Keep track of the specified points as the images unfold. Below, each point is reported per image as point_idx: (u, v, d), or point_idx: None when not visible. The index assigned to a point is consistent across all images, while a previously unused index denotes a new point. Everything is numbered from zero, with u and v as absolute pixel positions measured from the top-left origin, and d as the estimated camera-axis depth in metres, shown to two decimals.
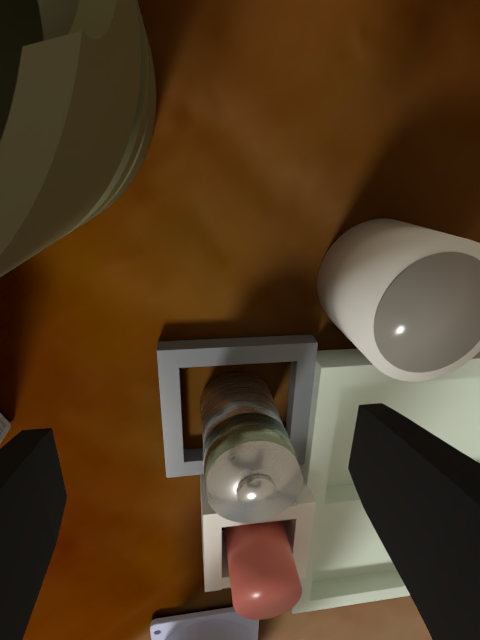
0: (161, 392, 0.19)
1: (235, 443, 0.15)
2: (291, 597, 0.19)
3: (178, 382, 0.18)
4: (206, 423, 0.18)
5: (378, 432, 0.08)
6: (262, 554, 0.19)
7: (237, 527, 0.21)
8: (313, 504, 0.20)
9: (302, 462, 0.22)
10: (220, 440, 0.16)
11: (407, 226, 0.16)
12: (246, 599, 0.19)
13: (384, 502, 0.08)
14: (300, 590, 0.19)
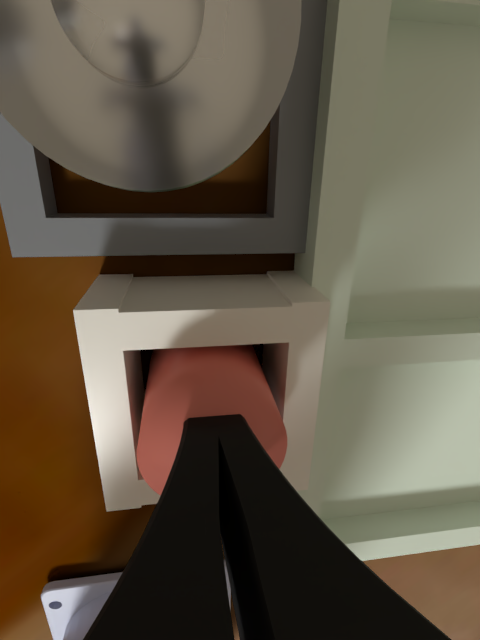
0: None
1: None
2: None
3: None
4: None
5: (218, 446, 0.08)
6: (203, 365, 0.09)
7: None
8: (325, 307, 0.09)
9: (301, 248, 0.11)
10: None
11: None
12: (168, 455, 0.09)
13: (224, 521, 0.08)
14: (283, 440, 0.09)
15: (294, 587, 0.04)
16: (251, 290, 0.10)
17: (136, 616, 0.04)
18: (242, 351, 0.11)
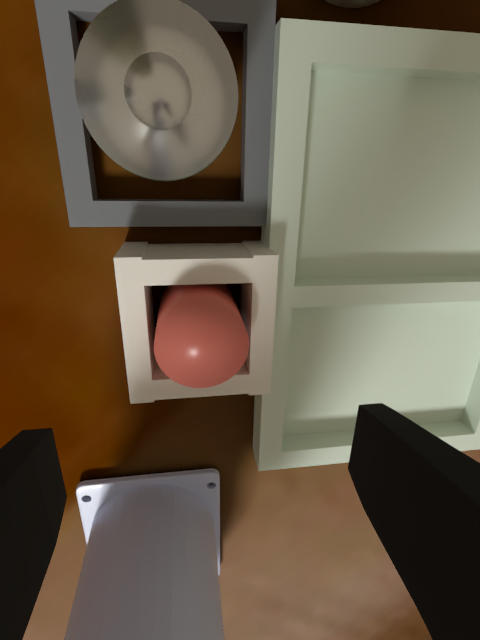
0: (45, 58, 0.13)
1: None
2: (235, 352, 0.14)
3: (70, 41, 0.13)
4: None
5: (378, 432, 0.08)
6: (195, 294, 0.14)
7: (171, 288, 0.16)
8: (275, 259, 0.14)
9: (263, 222, 0.16)
10: None
11: None
12: (173, 348, 0.14)
13: (384, 502, 0.08)
14: (246, 341, 0.14)
15: None
16: (228, 250, 0.15)
17: None
18: (222, 290, 0.16)
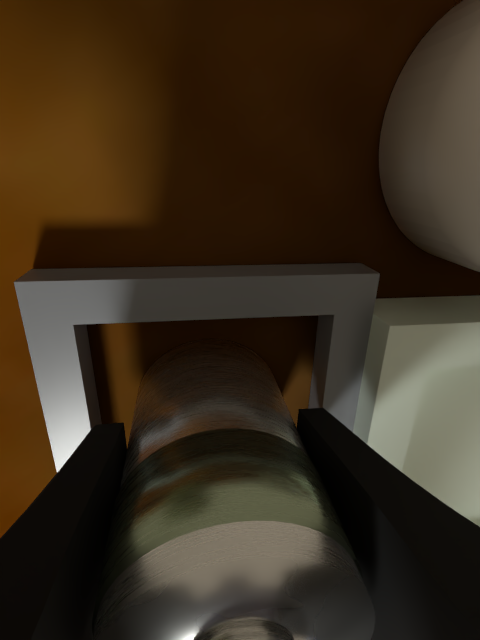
0: (39, 380, 0.09)
1: (176, 528, 0.05)
2: None
3: (76, 358, 0.08)
4: (129, 451, 0.08)
5: (312, 438, 0.08)
6: None
7: None
8: None
9: None
10: (140, 510, 0.06)
11: None
12: None
13: None
14: None
15: (452, 564, 0.05)
16: None
17: None
18: None
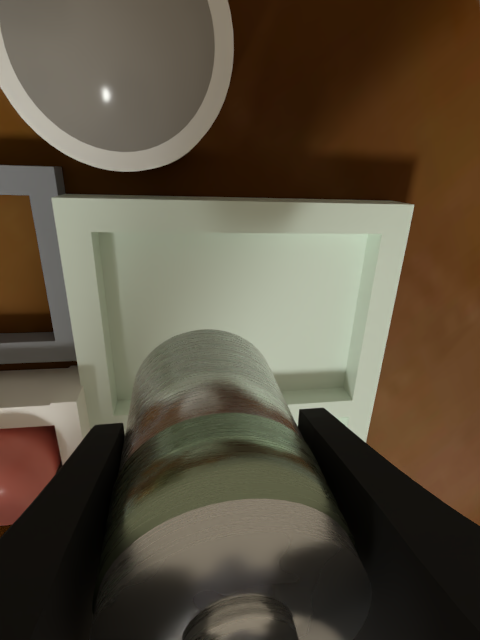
0: None
1: (170, 510, 0.05)
2: (32, 495, 0.15)
3: None
4: (125, 442, 0.08)
5: (312, 438, 0.08)
6: None
7: None
8: (73, 404, 0.15)
9: None
10: (135, 495, 0.06)
11: None
12: None
13: None
14: (41, 485, 0.15)
15: (453, 564, 0.05)
16: (41, 387, 0.16)
17: None
18: None
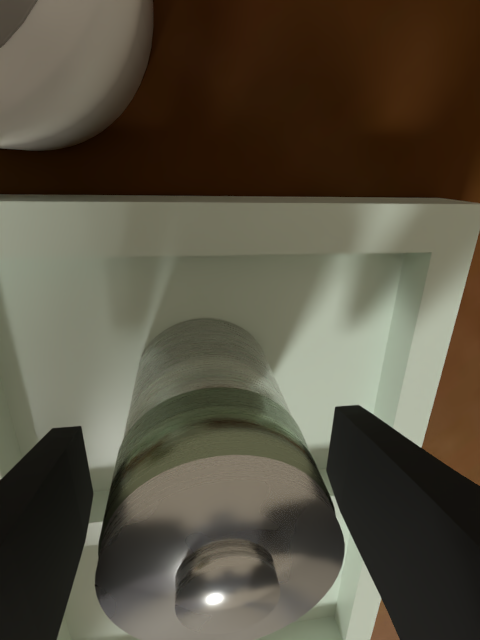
0: None
1: (166, 463, 0.06)
2: None
3: None
4: (128, 416, 0.08)
5: (352, 434, 0.08)
6: None
7: None
8: None
9: None
10: (136, 455, 0.06)
11: None
12: None
13: (358, 505, 0.08)
14: None
15: None
16: None
17: None
18: None
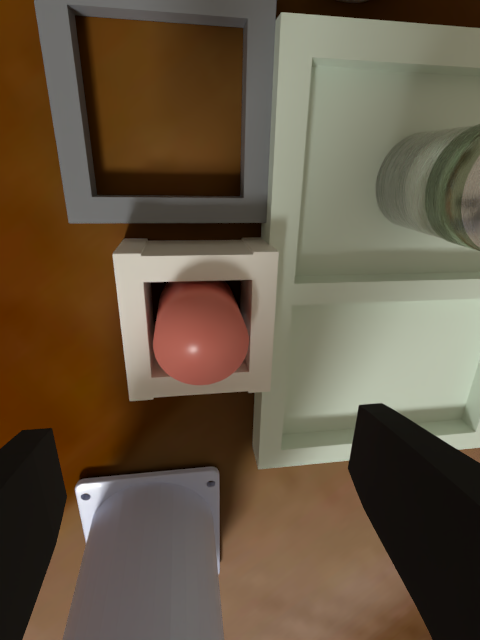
0: (44, 52, 0.13)
1: None
2: (234, 349, 0.14)
3: (69, 35, 0.12)
4: (420, 161, 0.13)
5: (378, 432, 0.08)
6: (195, 290, 0.14)
7: (170, 285, 0.16)
8: (275, 255, 0.14)
9: (263, 219, 0.16)
10: (477, 137, 0.11)
11: None
12: (172, 344, 0.14)
13: (384, 502, 0.08)
14: (246, 338, 0.14)
15: None
16: (228, 247, 0.15)
17: None
18: (222, 287, 0.16)
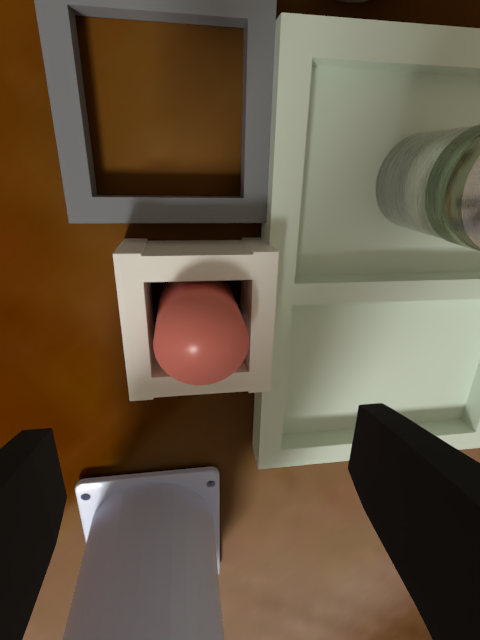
0: (44, 52, 0.13)
1: None
2: (234, 349, 0.14)
3: (69, 35, 0.12)
4: (420, 161, 0.13)
5: (378, 432, 0.08)
6: (195, 291, 0.14)
7: (170, 285, 0.16)
8: (275, 255, 0.14)
9: (263, 219, 0.16)
10: (477, 137, 0.11)
11: None
12: (172, 344, 0.14)
13: (384, 502, 0.08)
14: (246, 338, 0.14)
15: None
16: (228, 247, 0.15)
17: None
18: (222, 287, 0.16)
